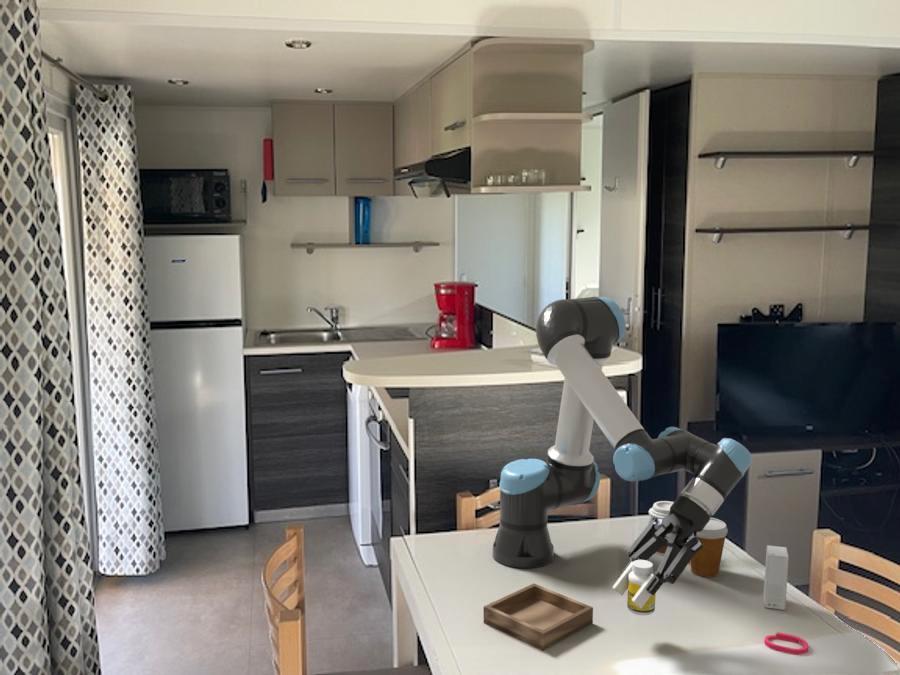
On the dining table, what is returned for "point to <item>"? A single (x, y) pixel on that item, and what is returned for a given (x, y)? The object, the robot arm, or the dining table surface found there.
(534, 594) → the walnut tray
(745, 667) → the dining table surface
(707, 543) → the disposable coffee cup
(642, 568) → the supplement bottle
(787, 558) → the skincare box
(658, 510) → the coffee cup
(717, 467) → the robot arm
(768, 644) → the fitness band
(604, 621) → the dining table surface
